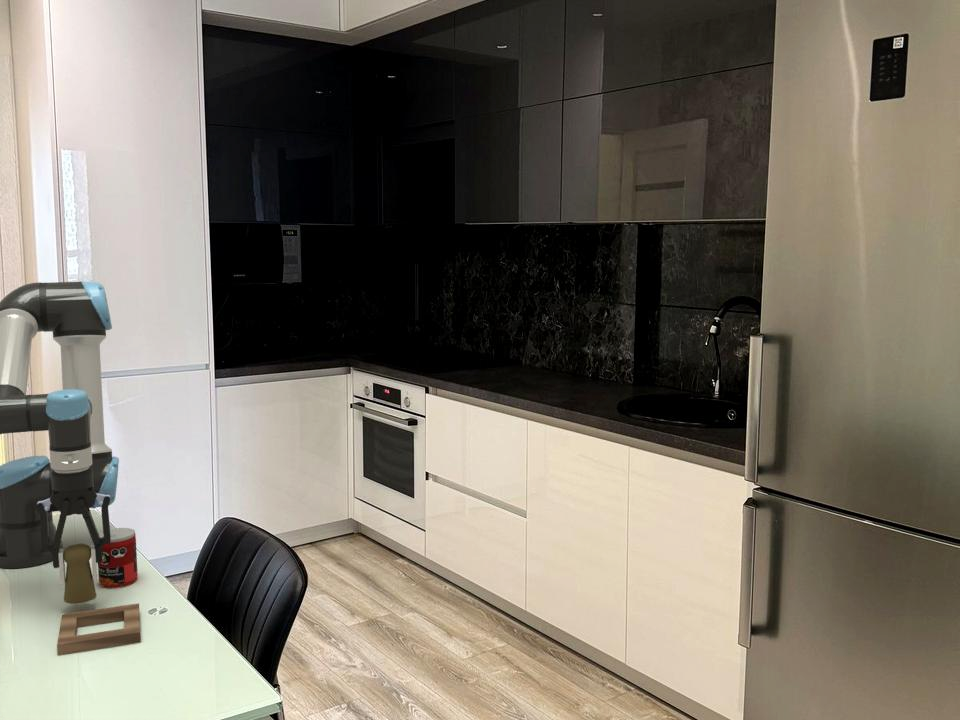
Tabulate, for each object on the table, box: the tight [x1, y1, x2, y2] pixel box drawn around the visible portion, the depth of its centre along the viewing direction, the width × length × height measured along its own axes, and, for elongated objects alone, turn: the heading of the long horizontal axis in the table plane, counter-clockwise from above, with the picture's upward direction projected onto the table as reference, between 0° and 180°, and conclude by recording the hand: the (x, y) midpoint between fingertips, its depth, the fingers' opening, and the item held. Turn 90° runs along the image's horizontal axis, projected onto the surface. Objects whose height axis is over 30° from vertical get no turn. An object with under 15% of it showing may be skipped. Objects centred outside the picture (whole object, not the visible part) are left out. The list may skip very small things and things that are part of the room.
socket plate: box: [56, 603, 142, 656], centre depth 168 cm, size 14×14×2 cm
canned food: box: [97, 527, 139, 589], centre depth 192 cm, size 8×8×11 cm
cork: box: [63, 543, 97, 605], centre depth 178 cm, size 6×6×11 cm
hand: (79, 579), depth 178 cm, fingers closed on cork, 5 cm apart
